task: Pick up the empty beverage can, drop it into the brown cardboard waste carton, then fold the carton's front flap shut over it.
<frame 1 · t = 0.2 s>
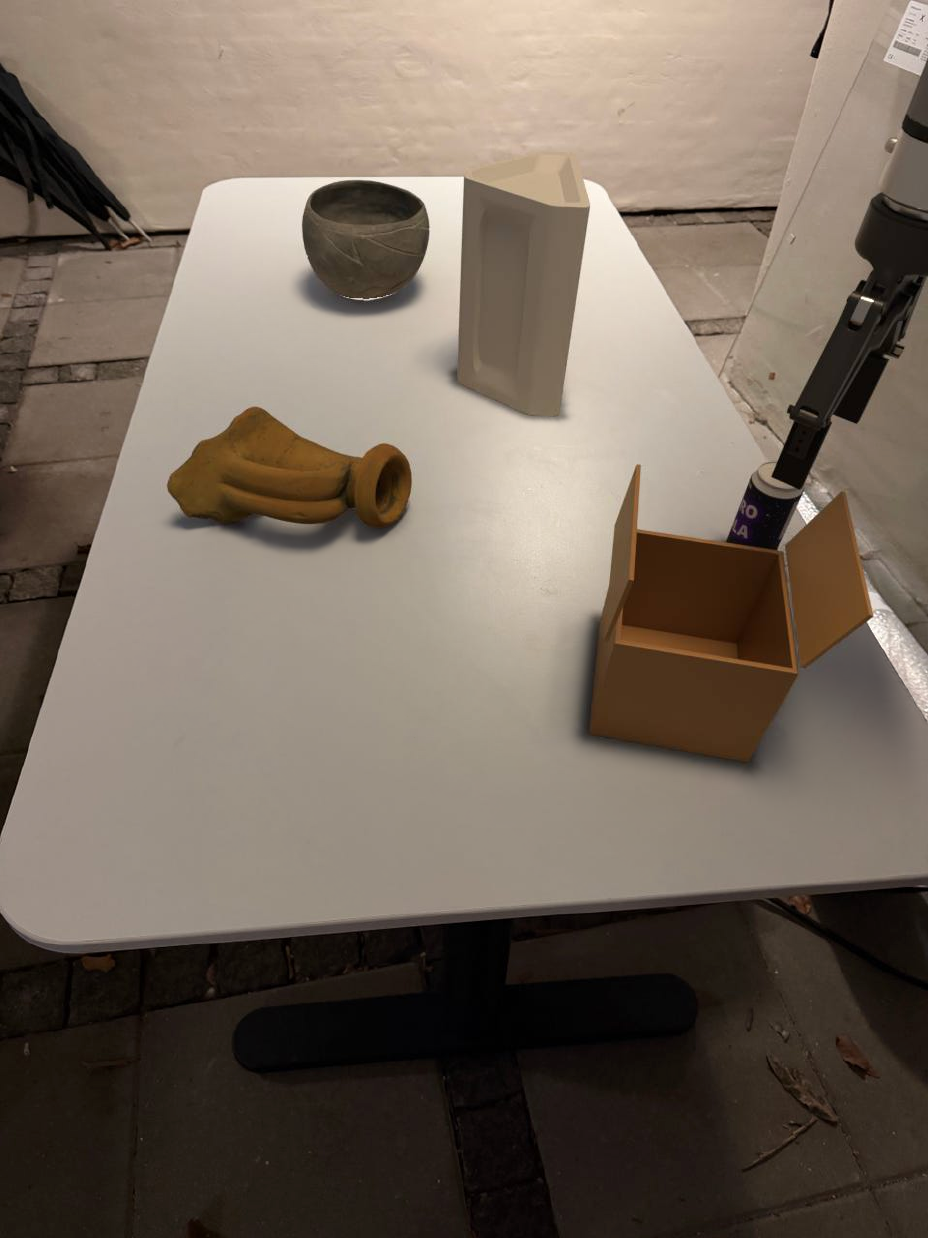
hand: (817, 448, 72), 21 cm above the table, tool pointing down, fingers open, 13 cm apart
tall recessed triangular prism: (506, 380, 117), on the table
flap: (824, 576, 65), point 18 cm above the table, hinge at 110.0°
brown looped sculpture: (298, 515, 94), on the table
carton: (668, 686, 78), on the table
beverage can: (746, 556, 92), on the table
bowl: (368, 293, 134), on the table
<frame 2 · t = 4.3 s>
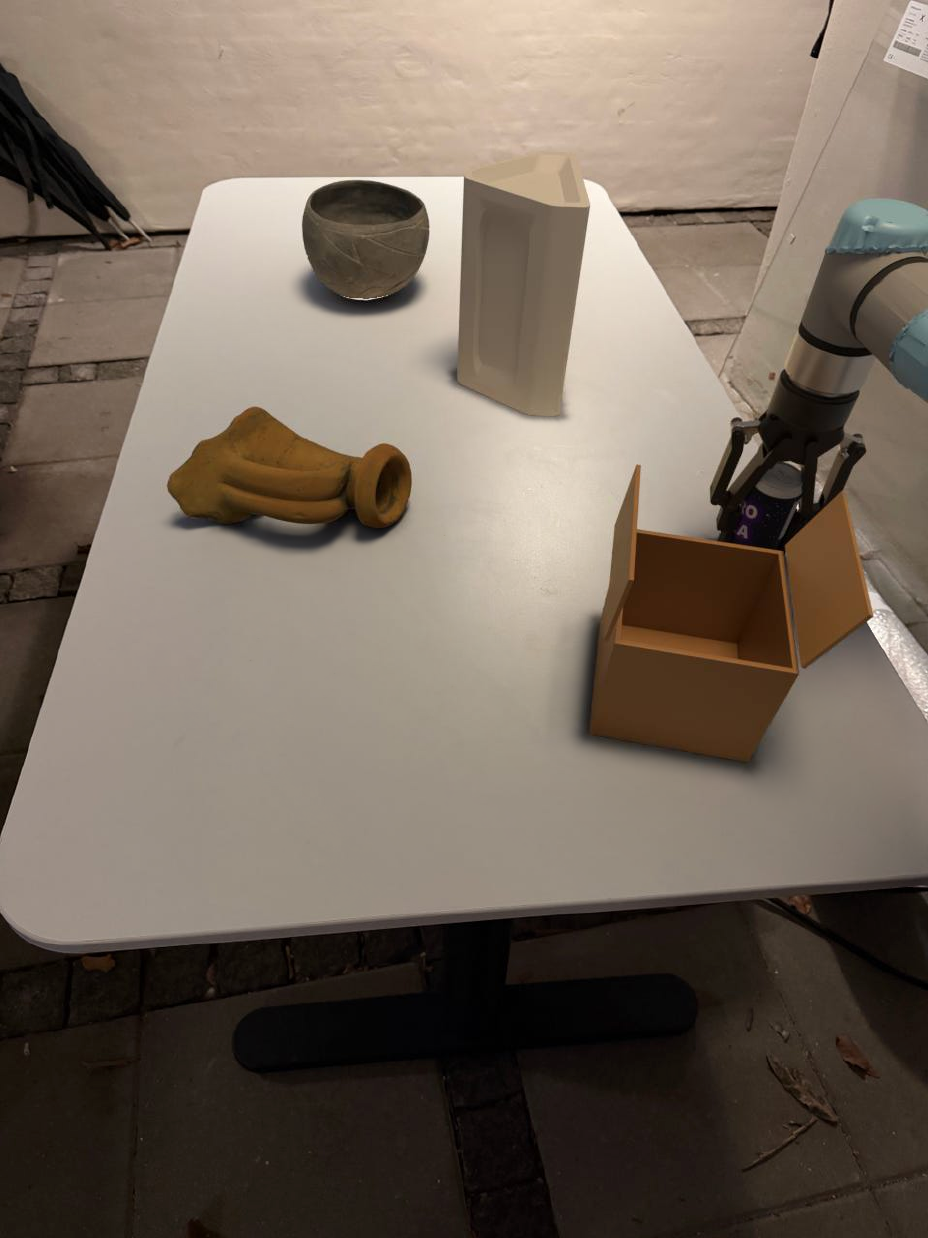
hand: (747, 553, 92), 0 cm above the table, tool pointing down, fingers closed on beverage can, 6 cm apart
beverage can: (746, 556, 92), on the table, touching gripper
everything else where it was.
when the fingers open (16 cm above the table, at t = 11.3 s): beverage can drops 15 cm, resting on carton.
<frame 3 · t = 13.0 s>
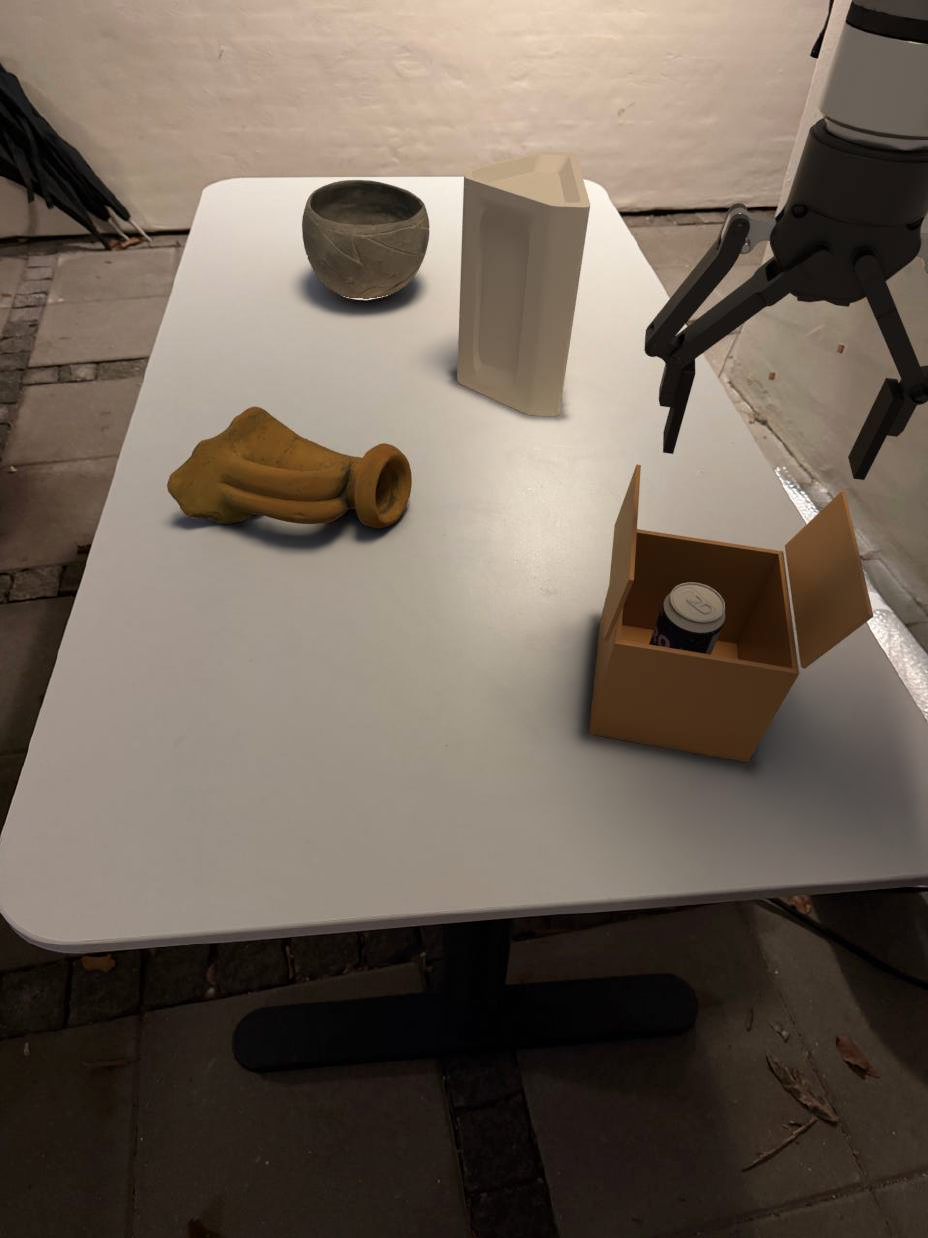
hand: (760, 456, 57), 28 cm above the table, tool pointing down, fingers open, 13 cm apart
beverage can: (666, 684, 78), resting on carton
everything else where it was.
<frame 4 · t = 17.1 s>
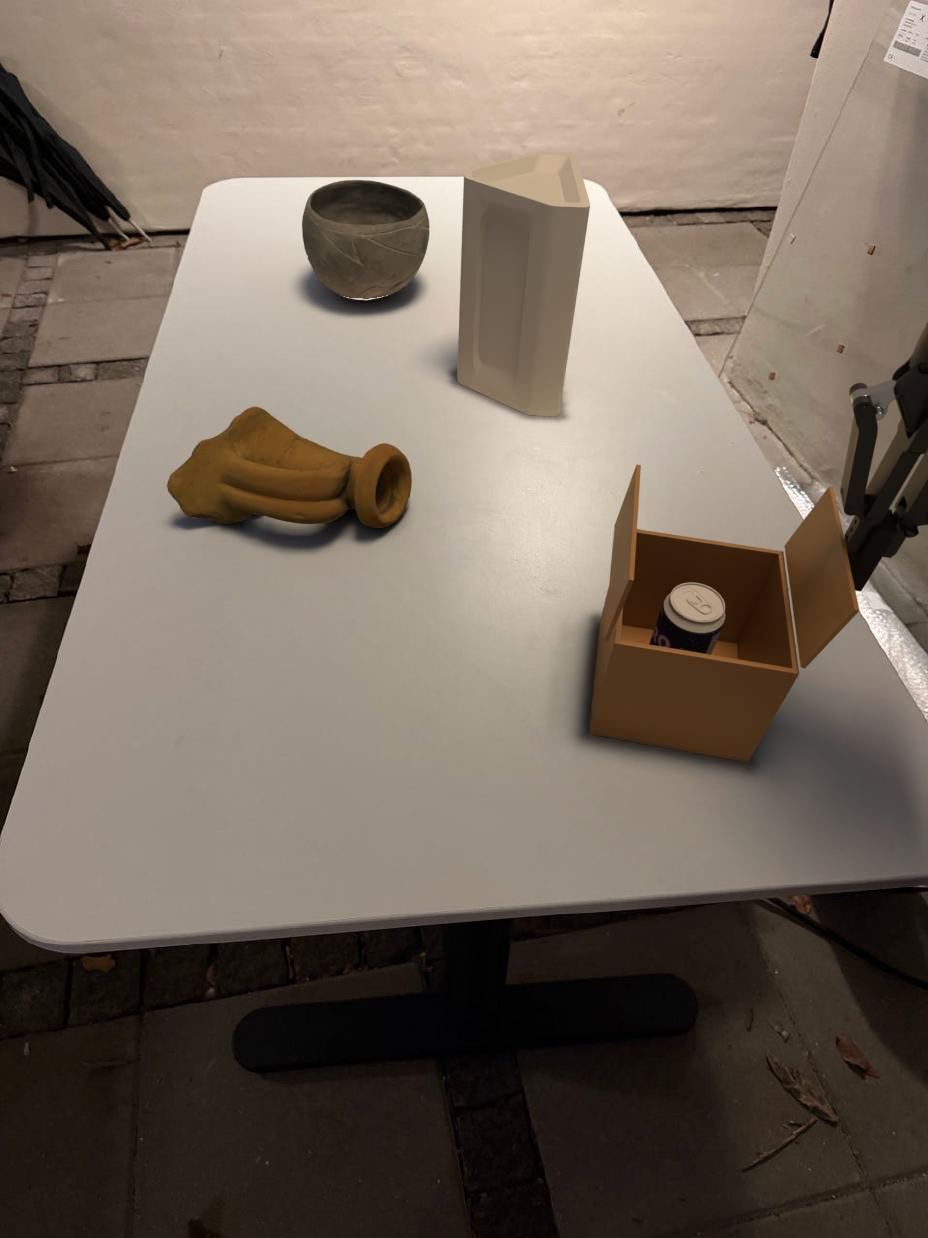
hand: (850, 578, 64), 18 cm above the table, tool pointing down, fingers closed
flap: (817, 574, 64), point 18 cm above the table, hinge at 100.6°
everything else where it was.
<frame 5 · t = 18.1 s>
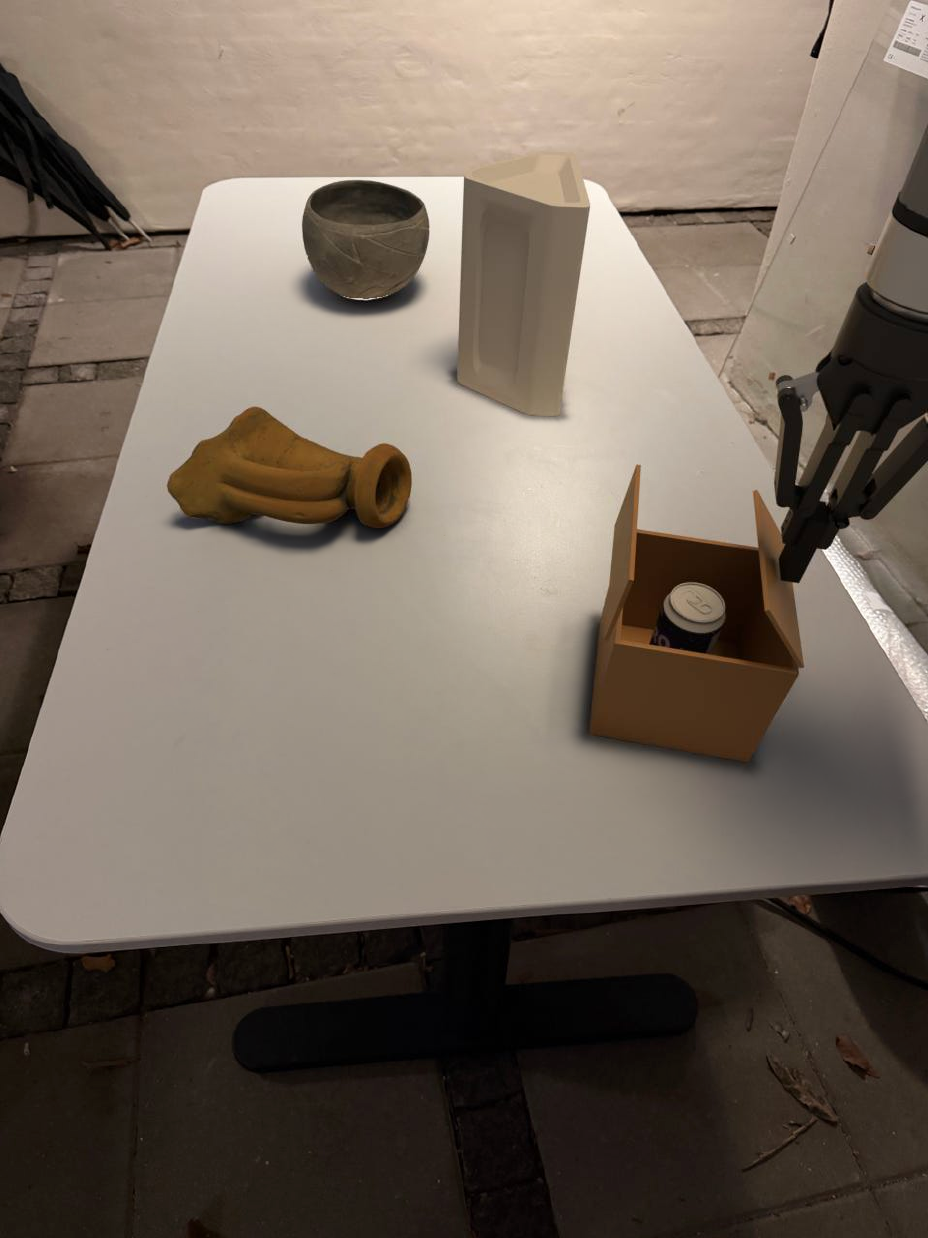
hand: (788, 570, 65), 18 cm above the table, tool pointing down, fingers closed
flap: (777, 574, 65), point 17 cm above the table, hinge at 51.2°, touching gripper
everything else where it was.
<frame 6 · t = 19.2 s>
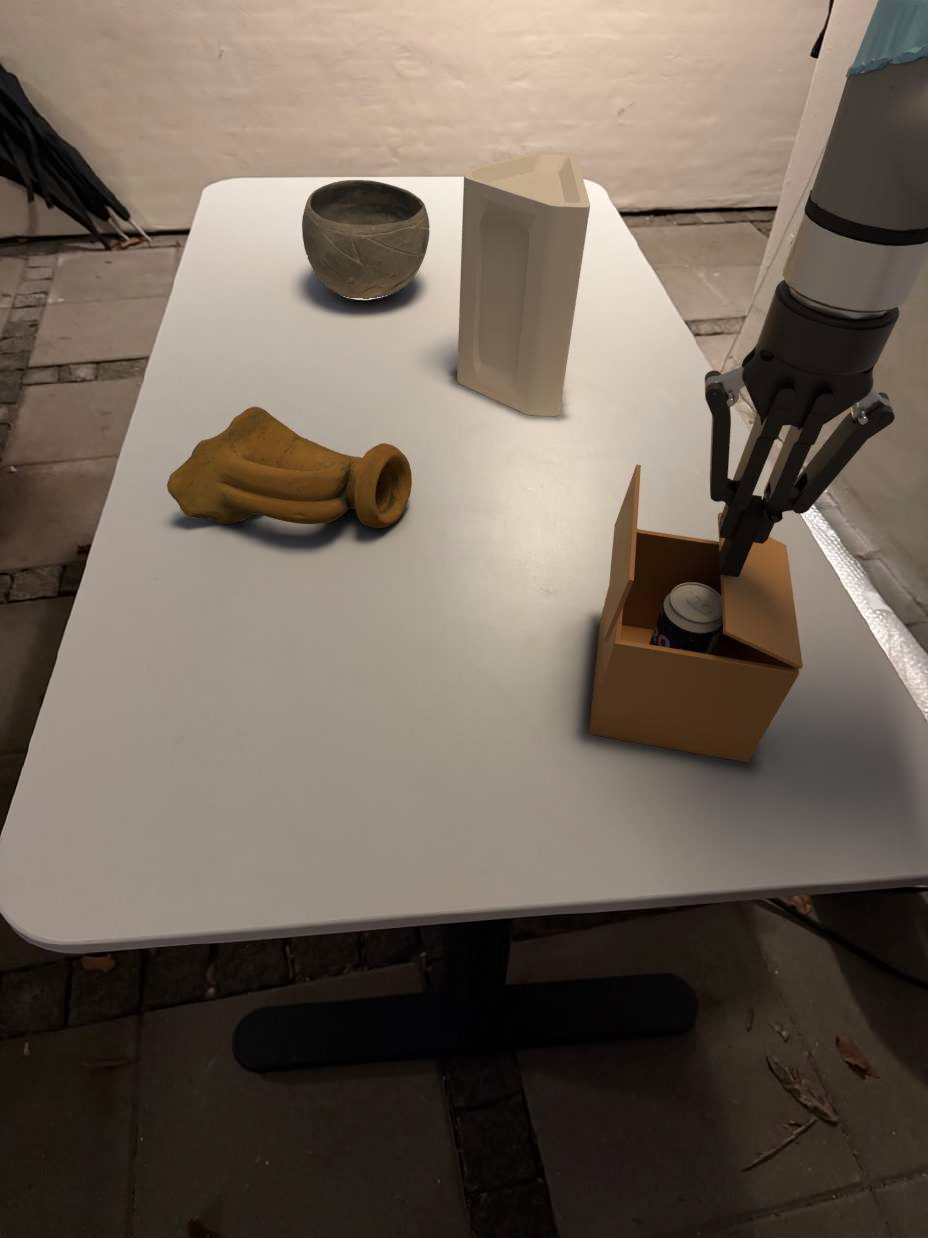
hand: (728, 564, 66), 17 cm above the table, tool pointing down, fingers closed
flap: (757, 585, 67), point 15 cm above the table, hinge at 21.3°, touching gripper
everything else where it was.
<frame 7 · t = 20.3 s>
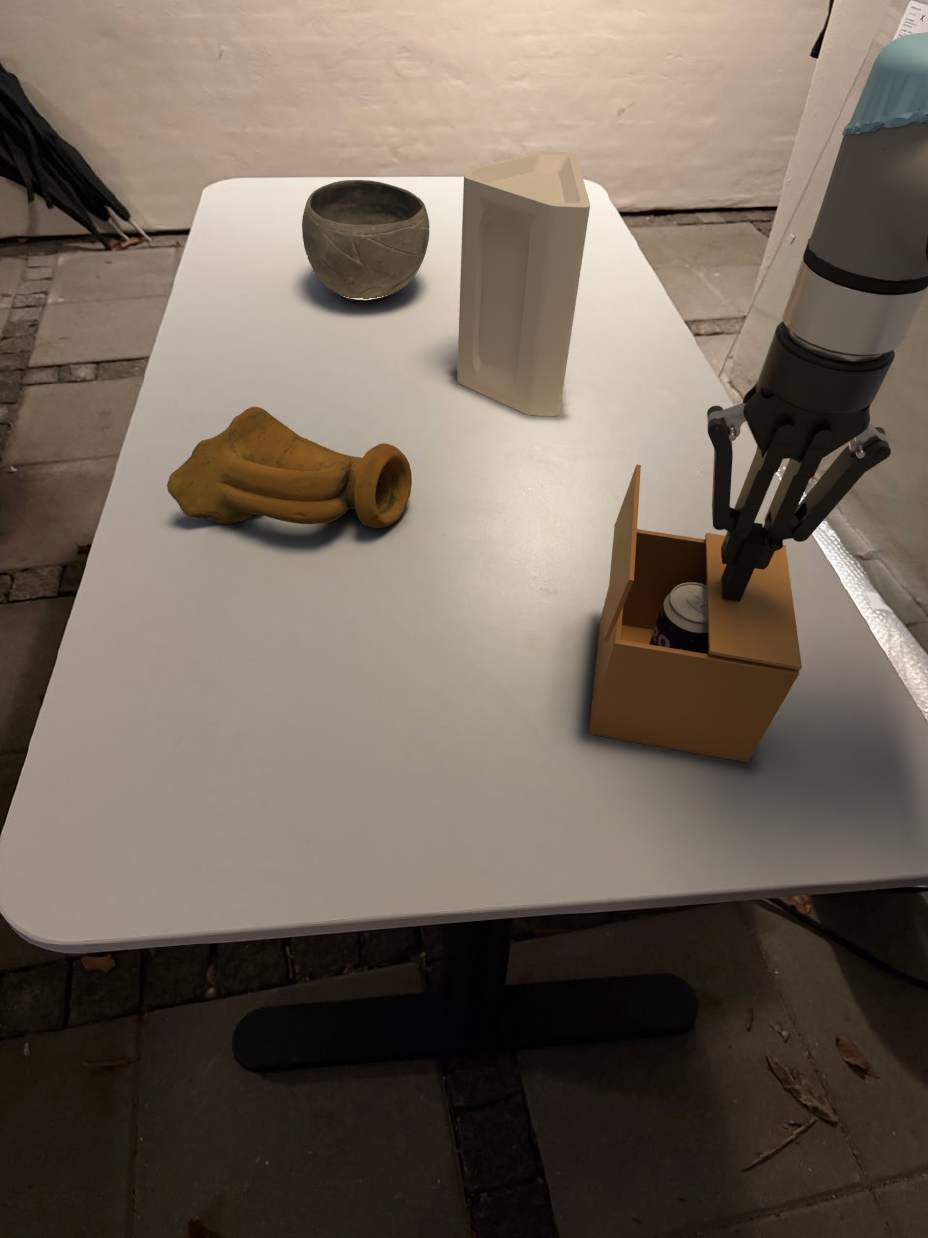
hand: (730, 589, 67), 15 cm above the table, tool pointing down, fingers closed
flap: (749, 596, 68), point 14 cm above the table, hinge at 0.6°, touching gripper
everything else where it was.
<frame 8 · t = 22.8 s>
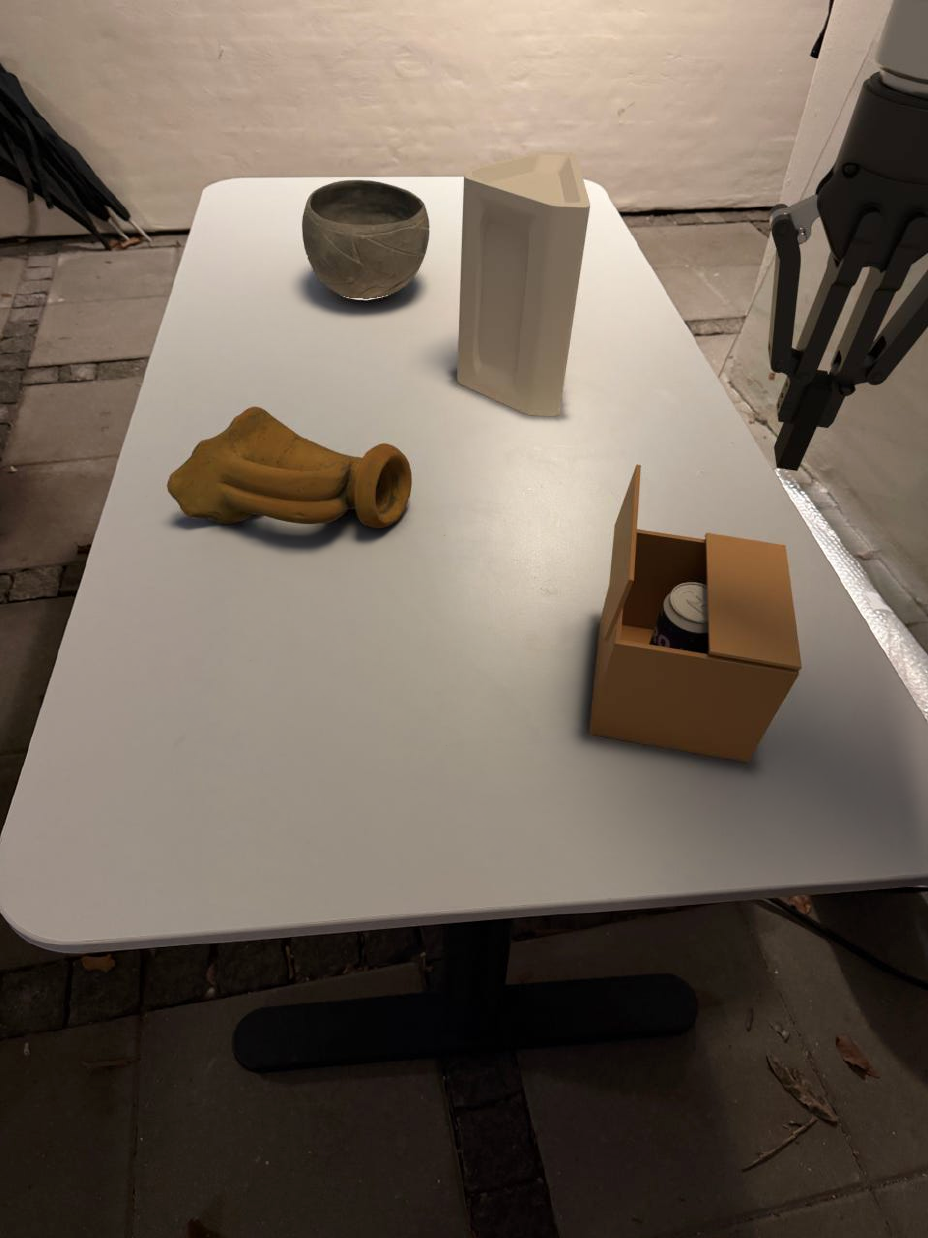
hand: (785, 458, 57), 28 cm above the table, tool pointing down, fingers closed
flap: (749, 596, 68), point 14 cm above the table, hinge at 0.6°
everything else where it was.
at the end: beverage can inside the target area in the carton (0.3 cm from its centre), point 0.3 cm above the carton's base; flap at +1° (first picture: +110°); the gripper is holding nothing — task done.
